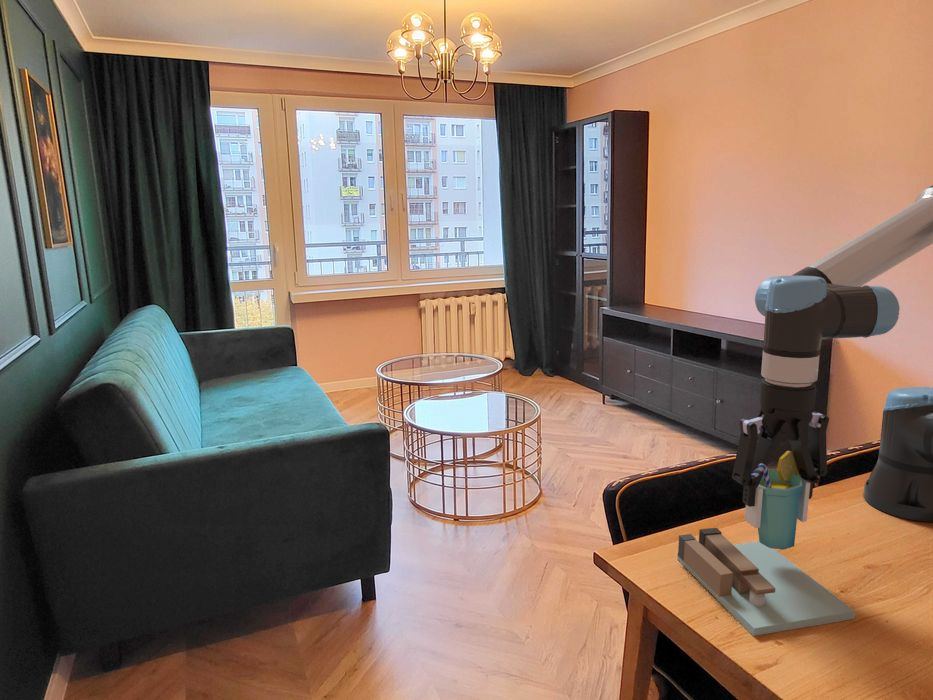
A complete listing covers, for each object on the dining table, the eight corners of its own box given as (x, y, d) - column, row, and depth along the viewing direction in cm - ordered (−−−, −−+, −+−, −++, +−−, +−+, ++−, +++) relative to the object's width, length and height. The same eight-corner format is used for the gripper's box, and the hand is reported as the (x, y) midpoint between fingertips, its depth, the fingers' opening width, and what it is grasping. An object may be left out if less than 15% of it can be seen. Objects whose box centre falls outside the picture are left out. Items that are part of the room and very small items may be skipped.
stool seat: (762, 547, 108) (764, 520, 107) (854, 618, 89) (858, 587, 88) (674, 559, 105) (676, 532, 104) (750, 636, 86) (753, 604, 85)
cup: (780, 571, 92) (779, 476, 89) (729, 554, 98) (726, 464, 95) (817, 532, 101) (817, 445, 98) (768, 518, 107) (767, 436, 104)
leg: (774, 607, 89) (776, 583, 89) (754, 609, 89) (756, 585, 88) (715, 548, 105) (716, 527, 104) (698, 550, 105) (699, 529, 104)
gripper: (828, 369, 99) (814, 503, 104) (712, 379, 96) (703, 517, 100) (867, 381, 92) (850, 524, 97) (742, 392, 88) (731, 540, 93)
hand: (775, 520), depth 99 cm, fingers closed on cup, 7 cm apart
